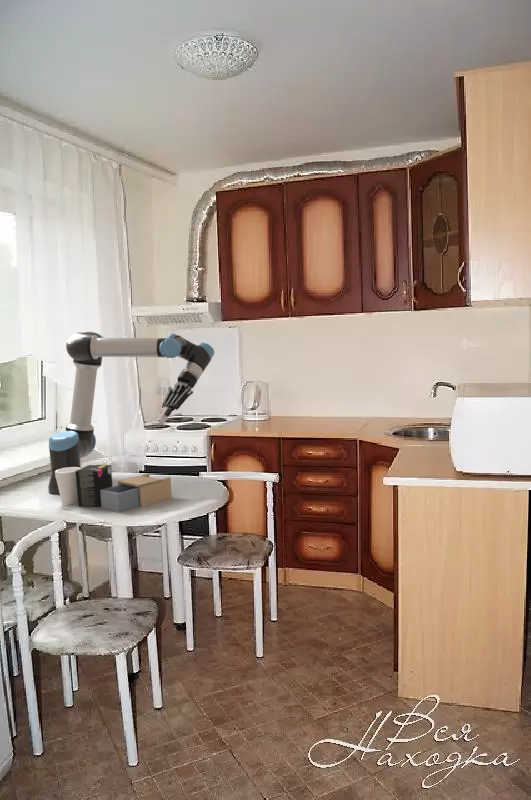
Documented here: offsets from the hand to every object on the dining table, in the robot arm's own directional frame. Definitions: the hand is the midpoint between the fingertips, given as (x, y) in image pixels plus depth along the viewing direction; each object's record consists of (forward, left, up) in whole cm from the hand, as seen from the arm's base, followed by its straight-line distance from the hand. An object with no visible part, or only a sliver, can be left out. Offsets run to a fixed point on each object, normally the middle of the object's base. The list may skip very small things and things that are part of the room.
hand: (160, 422), depth 252 cm
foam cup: (-18, -31, -28) cm, 45 cm away
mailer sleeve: (+7, -15, -28) cm, 32 cm away
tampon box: (-6, -28, -28) cm, 40 cm away
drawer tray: (+7, -20, -28) cm, 35 cm away
